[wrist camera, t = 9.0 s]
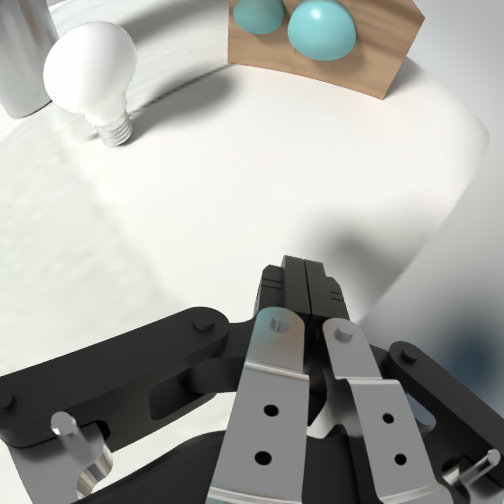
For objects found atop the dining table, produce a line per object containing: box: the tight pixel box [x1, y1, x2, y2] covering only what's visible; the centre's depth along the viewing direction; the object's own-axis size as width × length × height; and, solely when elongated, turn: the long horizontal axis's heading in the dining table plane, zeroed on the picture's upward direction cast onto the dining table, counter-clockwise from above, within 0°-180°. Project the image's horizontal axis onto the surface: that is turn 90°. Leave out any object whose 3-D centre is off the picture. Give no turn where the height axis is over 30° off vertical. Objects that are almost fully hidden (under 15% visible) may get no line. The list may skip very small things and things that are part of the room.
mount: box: [228, 0, 425, 100], centre depth 21 cm, size 12×16×11 cm
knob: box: [288, 0, 356, 61], centre depth 20 cm, size 15×5×5 cm, turn 168°
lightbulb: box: [43, 21, 137, 146], centre depth 16 cm, size 6×6×11 cm
